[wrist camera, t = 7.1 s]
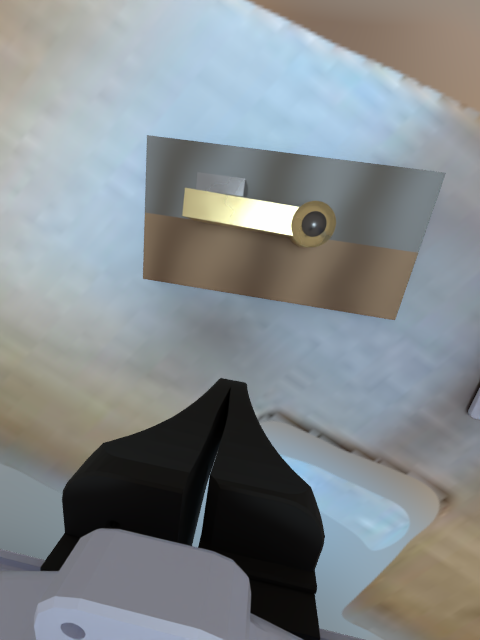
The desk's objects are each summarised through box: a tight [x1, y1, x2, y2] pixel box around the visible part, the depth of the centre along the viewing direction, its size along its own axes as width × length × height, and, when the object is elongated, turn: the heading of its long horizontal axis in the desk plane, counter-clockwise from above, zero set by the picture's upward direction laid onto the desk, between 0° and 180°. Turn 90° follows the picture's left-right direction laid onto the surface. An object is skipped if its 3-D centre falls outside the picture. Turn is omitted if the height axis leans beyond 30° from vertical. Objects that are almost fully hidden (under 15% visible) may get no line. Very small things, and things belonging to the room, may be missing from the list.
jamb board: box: [143, 135, 446, 320], centre depth 18 cm, size 20×10×1 cm, turn 82°
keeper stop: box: [196, 172, 248, 198], centre depth 16 cm, size 3×1×2 cm, turn 81°
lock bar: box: [182, 188, 336, 248], centre depth 16 cm, size 9×3×3 cm, turn 80°
